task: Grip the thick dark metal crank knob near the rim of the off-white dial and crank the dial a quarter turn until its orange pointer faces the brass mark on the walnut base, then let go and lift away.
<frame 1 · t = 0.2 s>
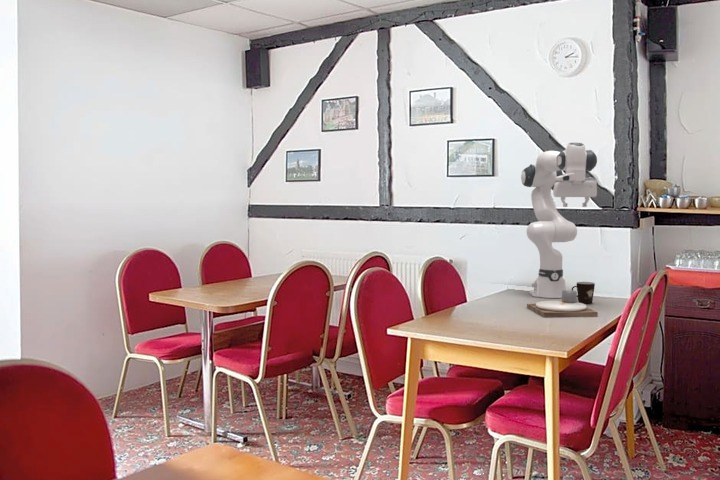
hand: (574, 207, 331), 47 cm above the table, fingers open, 8 cm apart
dial: (561, 300, 320), point 5 cm above the table, hinge at 0.0°
coffee mug: (582, 303, 345), on the table
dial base: (560, 312, 320), on the table
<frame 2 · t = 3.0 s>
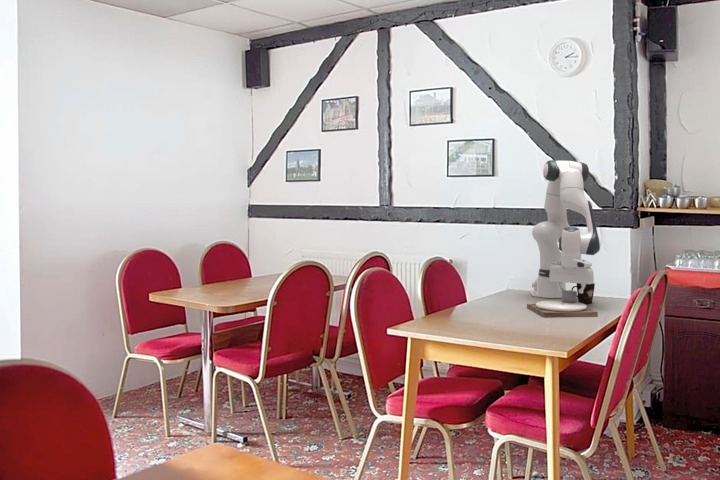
hand: (571, 292, 326), 8 cm above the table, fingers open, 8 cm apart
dial: (561, 300, 320), point 5 cm above the table, hinge at 0.0°, touching gripper
everything else where it was.
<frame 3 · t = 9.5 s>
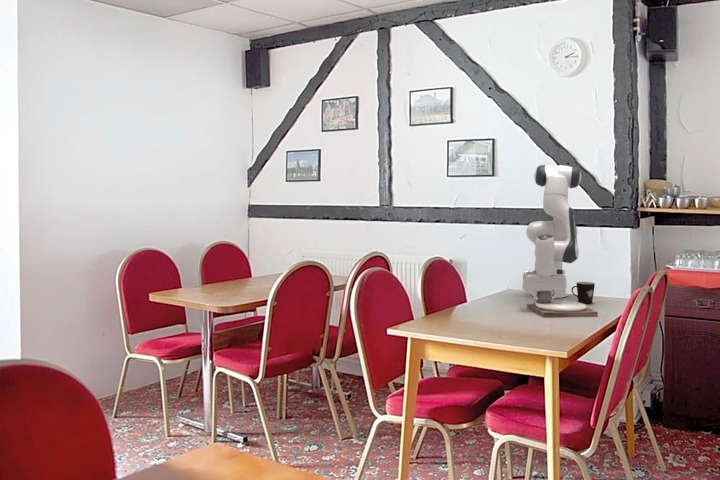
hand: (544, 300, 325), 5 cm above the table, fingers closed on dial, 6 cm apart
dial: (560, 300, 320), point 5 cm above the table, hinge at 89.6°, touching gripper
everything else where it was.
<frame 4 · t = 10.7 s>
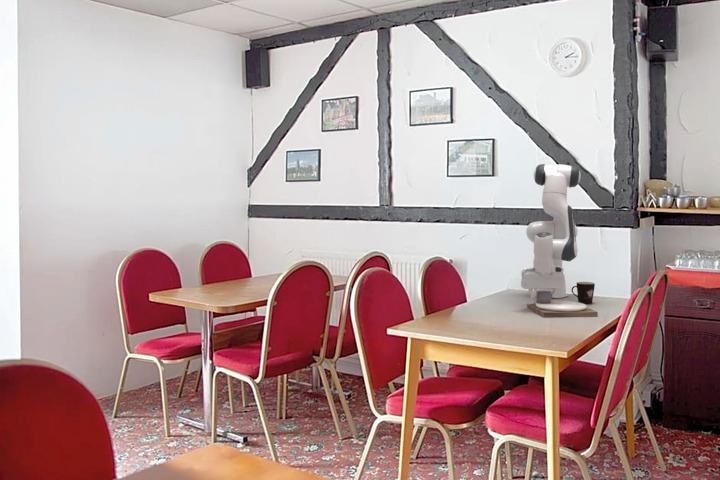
hand: (542, 297, 325), 6 cm above the table, fingers open, 8 cm apart
dial: (560, 300, 320), point 5 cm above the table, hinge at 91.1°, touching gripper
everything else where it was.
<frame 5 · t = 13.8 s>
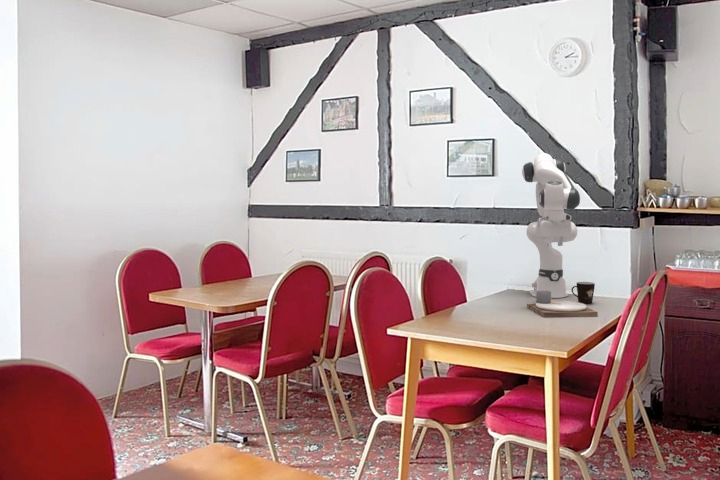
hand: (553, 246, 327), 29 cm above the table, fingers open, 8 cm apart
dial: (560, 300, 320), point 5 cm above the table, hinge at 91.1°
everything else where it was.
at the end: dial at +91° (first picture: +0°); coffee mug moved 0.2 cm from its start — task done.
